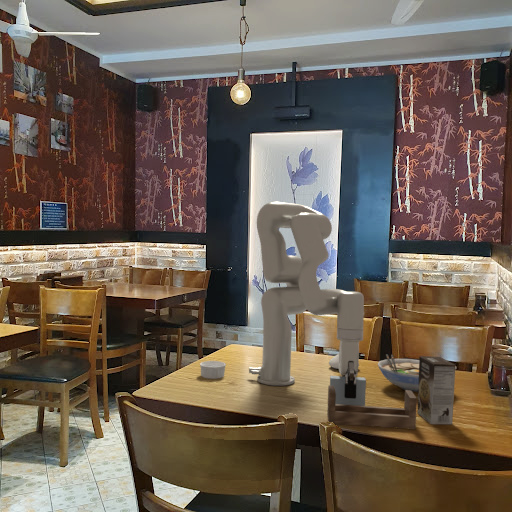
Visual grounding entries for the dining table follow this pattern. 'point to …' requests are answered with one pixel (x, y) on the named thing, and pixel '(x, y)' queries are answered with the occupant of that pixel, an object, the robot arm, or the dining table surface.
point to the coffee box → (436, 389)
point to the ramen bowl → (401, 372)
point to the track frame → (373, 413)
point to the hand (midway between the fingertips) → (348, 393)
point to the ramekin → (212, 369)
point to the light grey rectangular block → (340, 389)
